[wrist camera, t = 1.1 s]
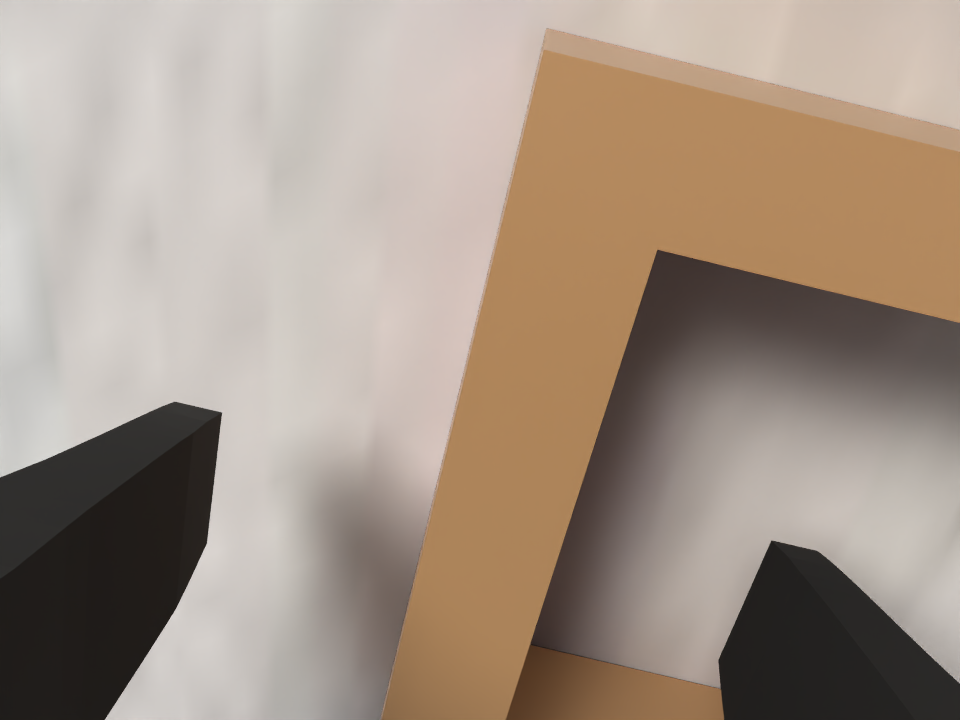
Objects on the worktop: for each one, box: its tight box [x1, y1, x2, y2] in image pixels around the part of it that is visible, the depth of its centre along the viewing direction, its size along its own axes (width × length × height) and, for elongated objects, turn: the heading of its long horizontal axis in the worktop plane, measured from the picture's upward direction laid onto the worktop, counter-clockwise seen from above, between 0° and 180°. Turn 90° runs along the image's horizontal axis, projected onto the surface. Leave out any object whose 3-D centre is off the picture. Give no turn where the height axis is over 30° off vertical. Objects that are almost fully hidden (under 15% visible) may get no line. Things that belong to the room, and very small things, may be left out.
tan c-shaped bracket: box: [380, 28, 960, 720], centre depth 12 cm, size 7×12×4 cm, turn 167°
